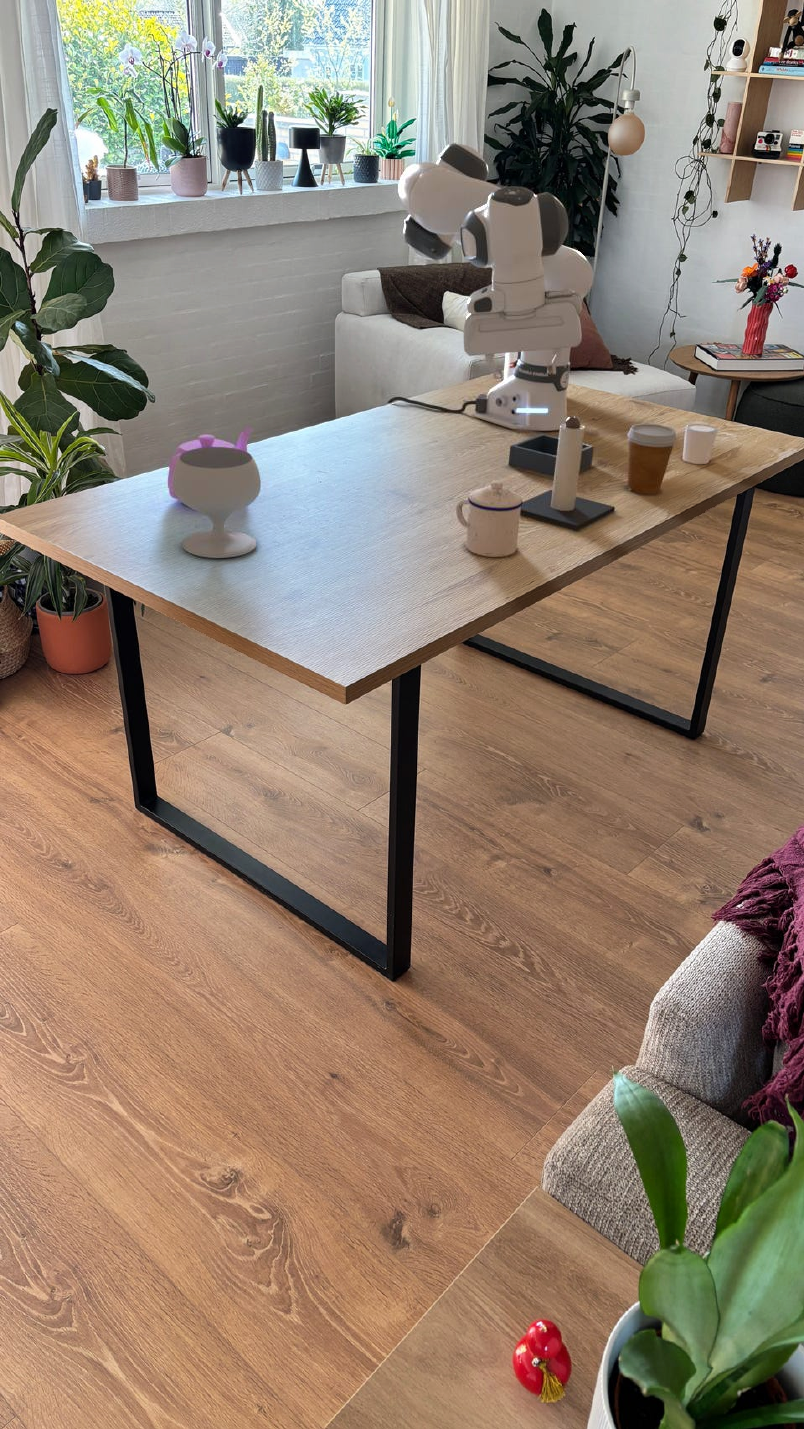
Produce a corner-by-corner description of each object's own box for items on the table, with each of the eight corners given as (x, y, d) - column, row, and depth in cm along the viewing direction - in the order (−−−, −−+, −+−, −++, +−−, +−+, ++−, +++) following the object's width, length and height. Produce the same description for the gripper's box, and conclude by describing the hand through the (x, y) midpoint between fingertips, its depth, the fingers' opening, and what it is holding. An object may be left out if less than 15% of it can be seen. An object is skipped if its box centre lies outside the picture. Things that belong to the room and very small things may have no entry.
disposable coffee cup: (672, 487, 218) (682, 428, 212) (661, 500, 211) (672, 439, 205) (626, 479, 221) (635, 420, 215) (613, 492, 214) (622, 431, 208)
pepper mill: (546, 507, 202) (556, 416, 193) (558, 501, 205) (569, 411, 196) (566, 512, 199) (578, 421, 191) (578, 507, 202) (590, 416, 194)
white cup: (709, 456, 238) (715, 424, 235) (714, 466, 232) (720, 433, 229) (677, 454, 239) (683, 422, 235) (681, 463, 233) (687, 431, 229)
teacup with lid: (527, 548, 186) (534, 481, 180) (499, 562, 179) (505, 494, 173) (469, 530, 192) (474, 466, 186) (439, 544, 185) (444, 478, 180)
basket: (508, 467, 225) (510, 445, 223) (539, 455, 234) (542, 433, 231) (560, 481, 218) (563, 458, 216) (591, 467, 227) (594, 446, 225)
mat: (511, 512, 201) (511, 507, 201) (550, 494, 211) (550, 489, 210) (577, 531, 194) (577, 525, 194) (614, 511, 204) (615, 506, 203)
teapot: (197, 520, 190) (193, 454, 184) (147, 502, 197) (142, 437, 191) (278, 494, 204) (277, 432, 198) (229, 478, 211) (226, 417, 205)
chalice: (213, 525, 188) (209, 439, 181) (279, 543, 183) (277, 455, 175) (159, 549, 178) (152, 459, 170) (226, 569, 172) (223, 476, 164)
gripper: (582, 283, 184) (585, 365, 191) (462, 295, 188) (470, 374, 196) (580, 293, 179) (584, 376, 186) (457, 305, 183) (466, 386, 191)
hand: (524, 375), depth 191 cm, fingers open, 8 cm apart
